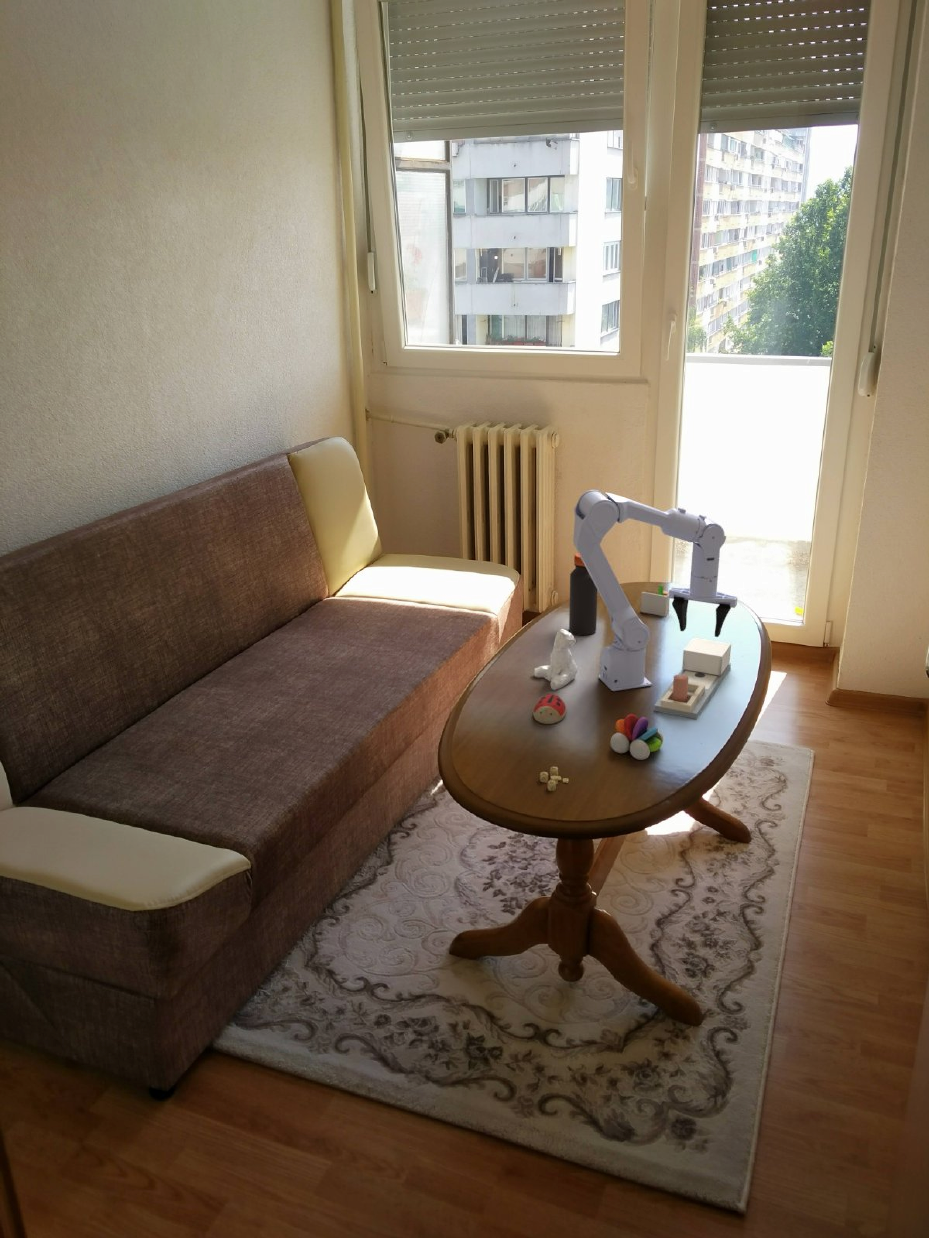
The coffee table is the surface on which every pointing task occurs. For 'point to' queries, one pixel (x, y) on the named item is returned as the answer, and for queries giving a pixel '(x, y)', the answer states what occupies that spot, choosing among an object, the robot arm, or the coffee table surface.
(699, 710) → the board
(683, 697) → the peg
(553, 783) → the dice set
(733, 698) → the coffee table surface
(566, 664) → the white creature statuette
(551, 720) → the ladybug figurine
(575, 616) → the bottle
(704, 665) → the block
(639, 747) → the rainbow fan toy
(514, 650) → the coffee table surface
